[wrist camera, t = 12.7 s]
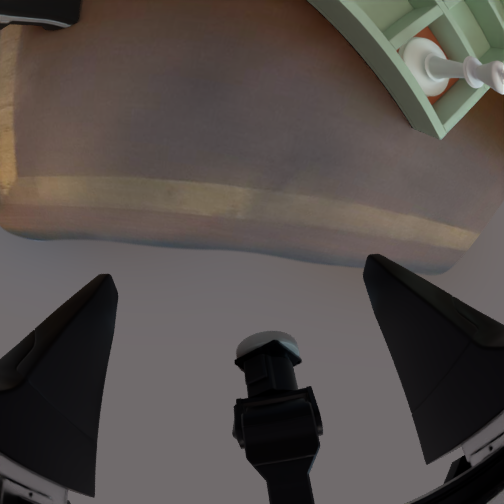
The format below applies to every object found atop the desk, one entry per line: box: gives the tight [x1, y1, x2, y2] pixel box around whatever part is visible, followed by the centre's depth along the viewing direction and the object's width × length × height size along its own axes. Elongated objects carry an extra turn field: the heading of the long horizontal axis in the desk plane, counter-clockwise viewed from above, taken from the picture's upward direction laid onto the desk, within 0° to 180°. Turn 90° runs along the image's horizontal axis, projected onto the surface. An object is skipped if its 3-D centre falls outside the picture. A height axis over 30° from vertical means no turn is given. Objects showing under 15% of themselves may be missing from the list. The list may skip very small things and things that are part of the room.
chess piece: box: [398, 37, 504, 97], centre depth 11 cm, size 5×5×10 cm
